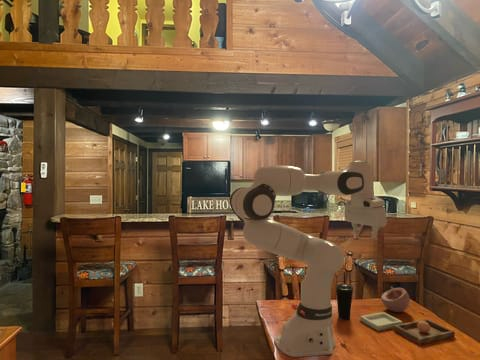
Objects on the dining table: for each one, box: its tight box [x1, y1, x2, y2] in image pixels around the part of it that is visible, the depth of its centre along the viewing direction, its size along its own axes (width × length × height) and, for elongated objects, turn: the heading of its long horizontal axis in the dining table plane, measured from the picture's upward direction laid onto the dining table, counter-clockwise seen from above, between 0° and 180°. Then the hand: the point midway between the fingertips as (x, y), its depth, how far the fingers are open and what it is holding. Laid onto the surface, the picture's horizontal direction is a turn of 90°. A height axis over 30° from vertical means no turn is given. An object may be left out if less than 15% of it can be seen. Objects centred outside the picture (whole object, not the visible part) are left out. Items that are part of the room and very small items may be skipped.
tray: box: [359, 311, 403, 332], centre depth 135 cm, size 13×10×2 cm
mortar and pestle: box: [380, 286, 411, 313], centre depth 148 cm, size 12×12×12 cm
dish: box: [393, 318, 456, 346], centre depth 126 cm, size 18×12×2 cm, turn 110°
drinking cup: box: [335, 271, 354, 321], centre depth 141 cm, size 8×8×20 cm
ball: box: [417, 321, 430, 333], centre depth 126 cm, size 4×4×4 cm
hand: (365, 235), depth 127 cm, fingers open, 8 cm apart
